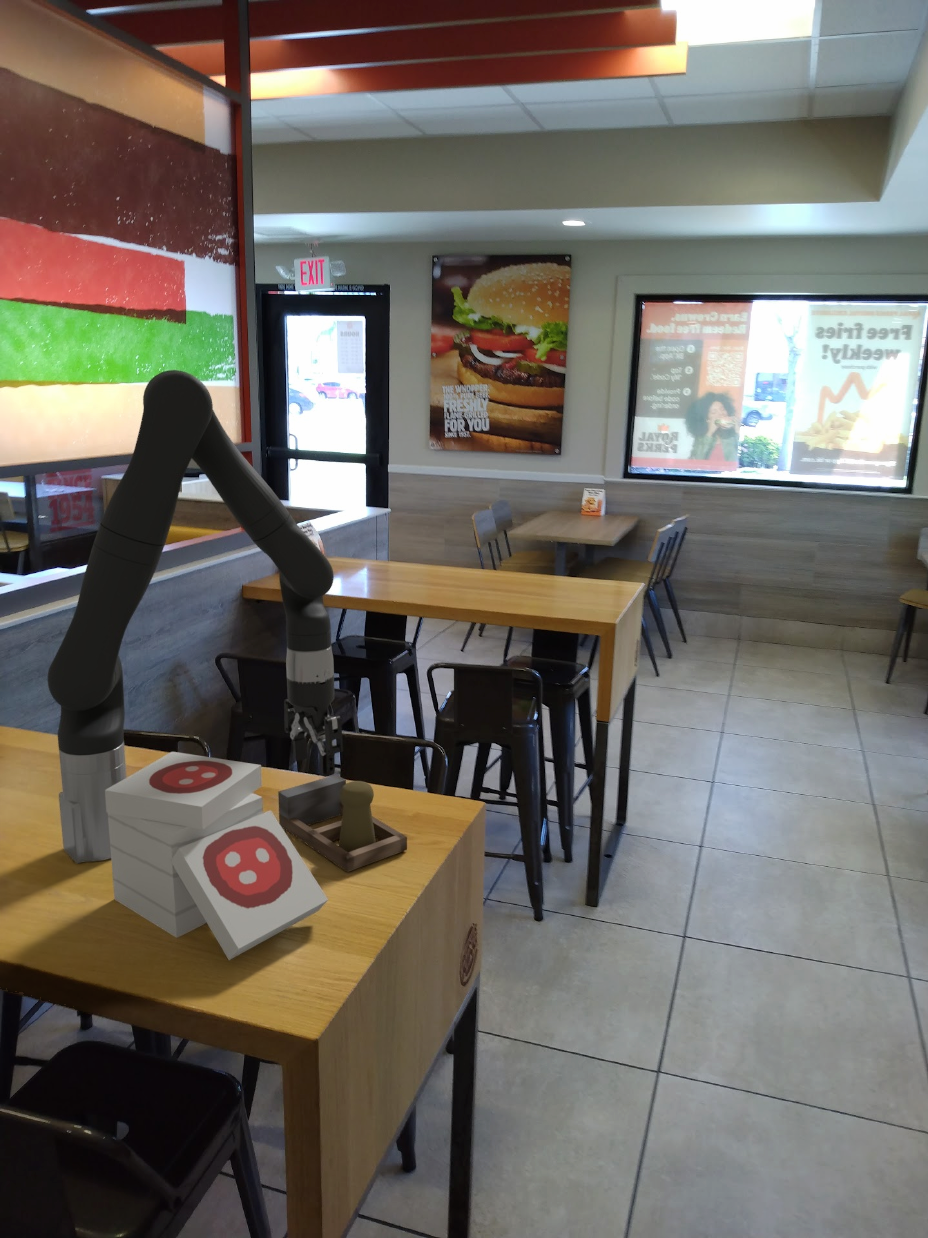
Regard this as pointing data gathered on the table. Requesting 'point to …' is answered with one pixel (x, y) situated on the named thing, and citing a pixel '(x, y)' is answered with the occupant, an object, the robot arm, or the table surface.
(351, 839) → the cork
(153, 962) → the table surface
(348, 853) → the divided wooden tray frame
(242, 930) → the pizza boxes
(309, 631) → the robot arm
